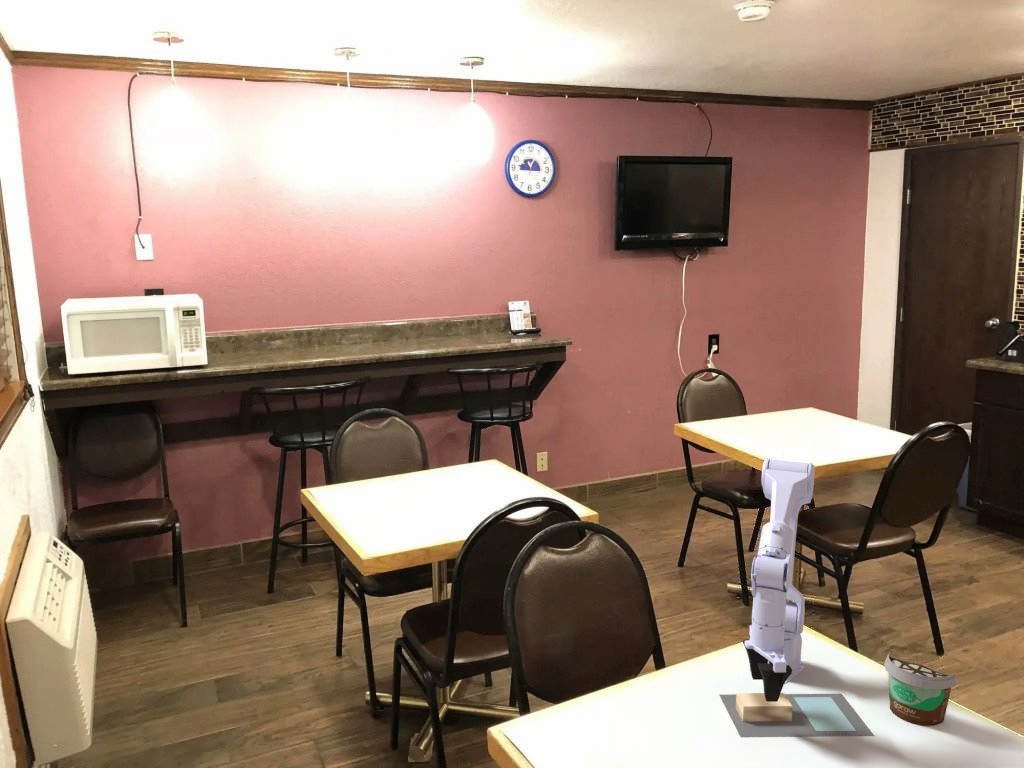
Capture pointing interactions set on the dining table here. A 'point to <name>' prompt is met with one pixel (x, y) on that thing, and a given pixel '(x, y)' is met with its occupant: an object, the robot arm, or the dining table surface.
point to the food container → (918, 692)
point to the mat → (804, 718)
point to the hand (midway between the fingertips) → (764, 689)
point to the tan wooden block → (763, 708)
